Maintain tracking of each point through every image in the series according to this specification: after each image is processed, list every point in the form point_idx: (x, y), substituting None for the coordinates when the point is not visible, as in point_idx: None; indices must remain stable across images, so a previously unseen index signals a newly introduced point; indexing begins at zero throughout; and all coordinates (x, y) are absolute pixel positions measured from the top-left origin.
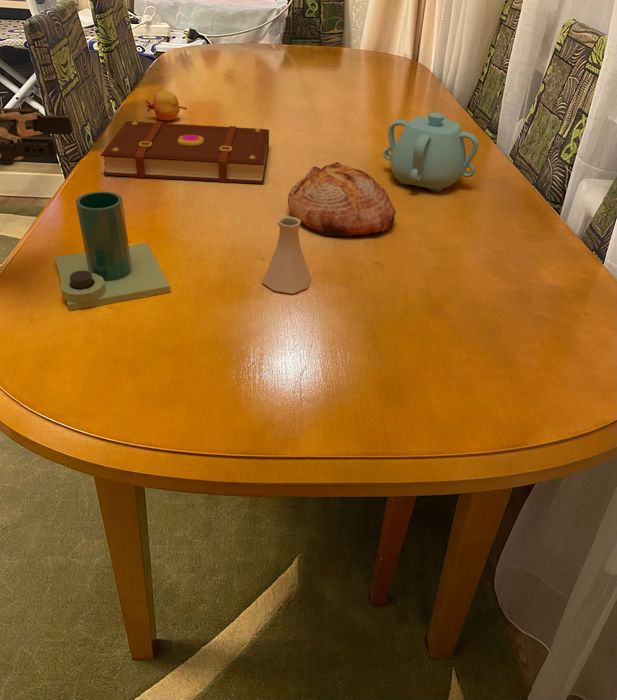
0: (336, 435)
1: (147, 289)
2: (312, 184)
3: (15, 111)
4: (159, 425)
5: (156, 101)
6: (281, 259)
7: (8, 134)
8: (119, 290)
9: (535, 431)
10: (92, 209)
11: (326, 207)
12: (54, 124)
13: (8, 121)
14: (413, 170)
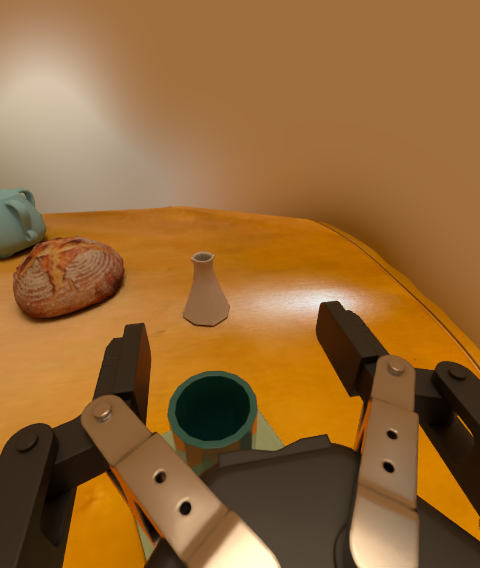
0: (380, 282)
1: (261, 414)
2: (65, 267)
3: (29, 534)
4: (446, 360)
5: None
6: (217, 289)
7: (379, 395)
8: (273, 449)
9: (329, 233)
10: (256, 402)
11: (104, 270)
12: (142, 370)
13: (213, 485)
14: (30, 232)
